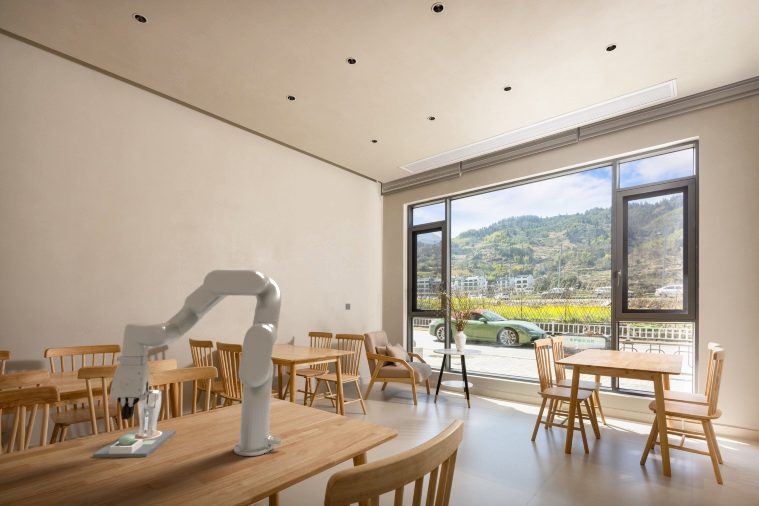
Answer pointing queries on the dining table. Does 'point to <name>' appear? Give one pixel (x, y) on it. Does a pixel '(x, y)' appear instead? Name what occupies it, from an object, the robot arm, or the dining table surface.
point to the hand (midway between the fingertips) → (127, 418)
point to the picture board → (135, 446)
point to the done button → (126, 439)
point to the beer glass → (149, 414)
